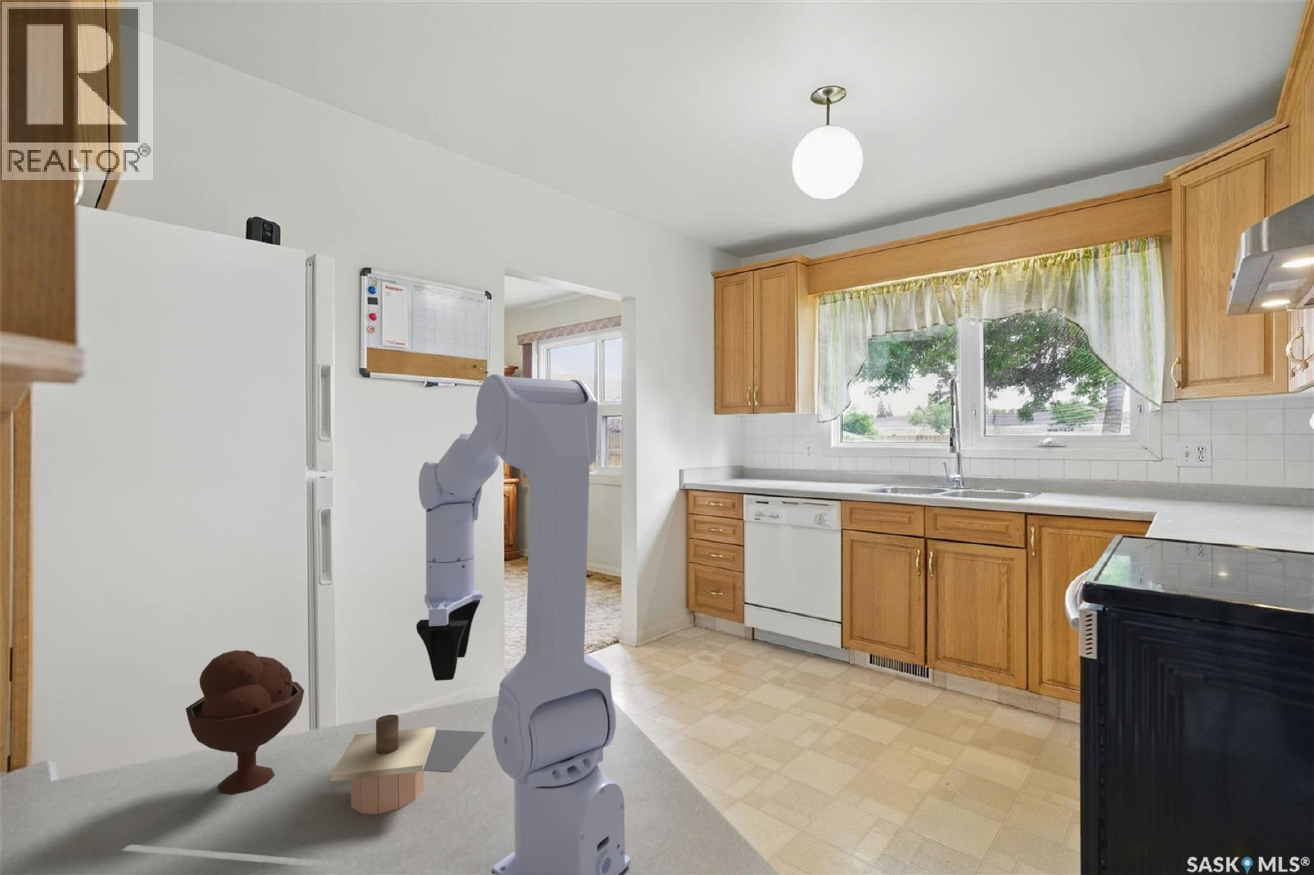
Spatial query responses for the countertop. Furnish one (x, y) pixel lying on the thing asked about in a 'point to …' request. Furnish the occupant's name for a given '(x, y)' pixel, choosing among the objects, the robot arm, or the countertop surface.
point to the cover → (385, 751)
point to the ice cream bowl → (243, 712)
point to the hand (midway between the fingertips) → (450, 667)
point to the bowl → (385, 792)
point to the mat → (450, 749)
